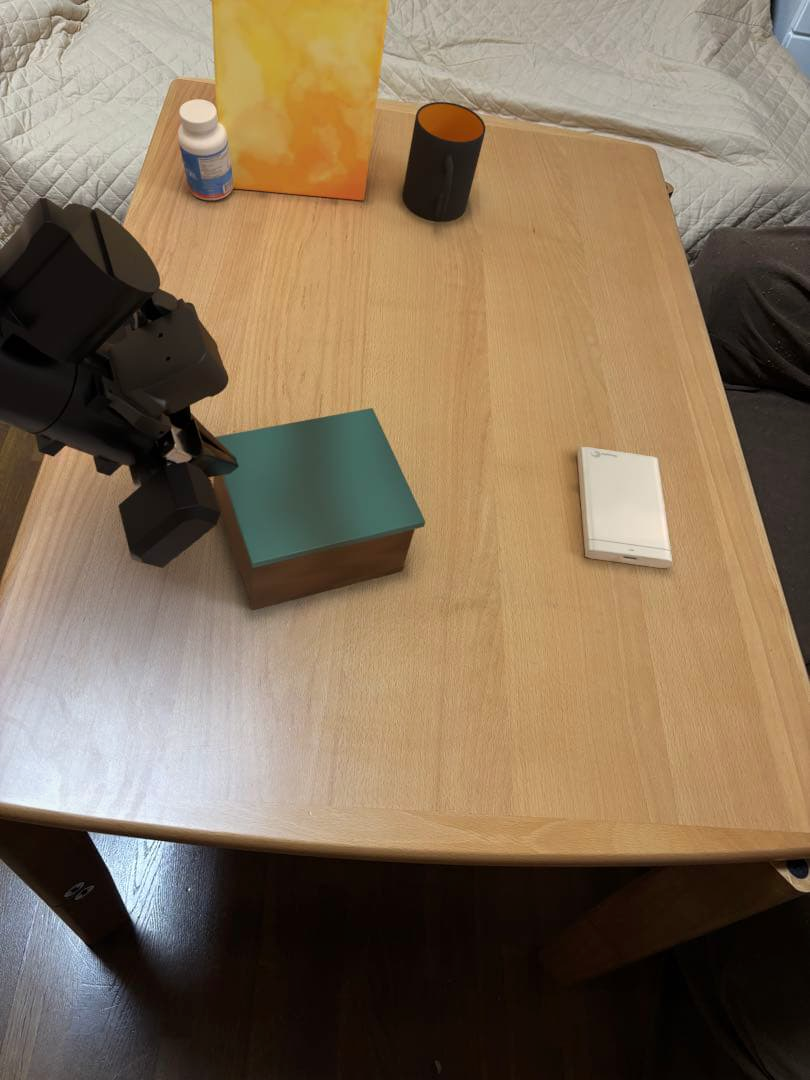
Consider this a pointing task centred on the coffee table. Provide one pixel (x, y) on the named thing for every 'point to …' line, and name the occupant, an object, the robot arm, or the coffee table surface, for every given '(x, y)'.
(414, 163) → the mug
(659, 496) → the hard drive
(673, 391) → the coffee table surface
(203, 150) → the pill bottle
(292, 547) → the lid
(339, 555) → the box
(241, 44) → the mottled yellow carton
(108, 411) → the robot arm
